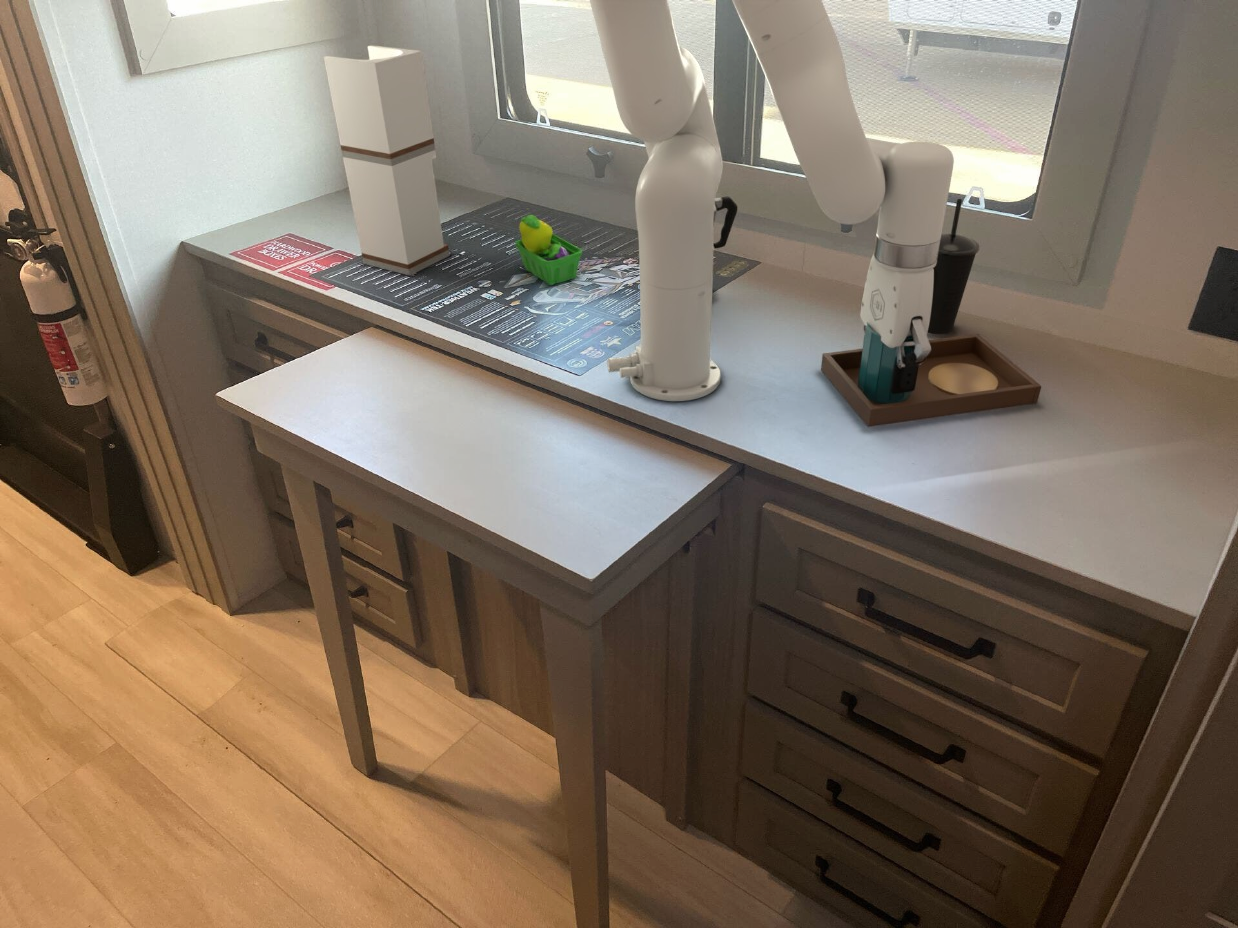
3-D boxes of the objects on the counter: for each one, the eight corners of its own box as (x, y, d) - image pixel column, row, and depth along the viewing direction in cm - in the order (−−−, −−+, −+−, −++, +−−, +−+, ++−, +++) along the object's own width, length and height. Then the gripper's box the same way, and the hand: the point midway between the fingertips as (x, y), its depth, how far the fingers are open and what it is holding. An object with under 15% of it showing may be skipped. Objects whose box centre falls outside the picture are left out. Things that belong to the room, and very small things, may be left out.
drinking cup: (964, 343, 135) (992, 210, 124) (910, 339, 136) (933, 207, 125) (959, 320, 141) (985, 192, 130) (907, 317, 143) (929, 190, 131)
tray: (867, 430, 116) (870, 409, 114) (820, 373, 129) (822, 353, 127) (1036, 406, 120) (1042, 386, 118) (974, 353, 132) (978, 333, 131)
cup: (870, 407, 120) (880, 341, 114) (849, 381, 125) (857, 318, 120) (919, 400, 121) (931, 335, 115) (896, 375, 126) (906, 312, 121)
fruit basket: (586, 278, 158) (583, 215, 152) (542, 291, 154) (536, 226, 148) (552, 259, 166) (548, 197, 160) (509, 271, 162) (503, 208, 156)
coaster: (948, 400, 120) (949, 398, 120) (916, 369, 128) (916, 367, 128) (1011, 392, 122) (1011, 390, 122) (975, 361, 129) (976, 359, 129)
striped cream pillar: (449, 255, 169) (421, 51, 149) (409, 275, 162) (374, 63, 142) (404, 244, 174) (371, 45, 154) (363, 263, 167) (323, 57, 147)
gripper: (848, 228, 118) (834, 350, 128) (910, 280, 104) (889, 412, 114) (902, 223, 119) (884, 343, 129) (971, 273, 105) (945, 404, 115)
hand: (887, 375), depth 122 cm, fingers open, 8 cm apart
